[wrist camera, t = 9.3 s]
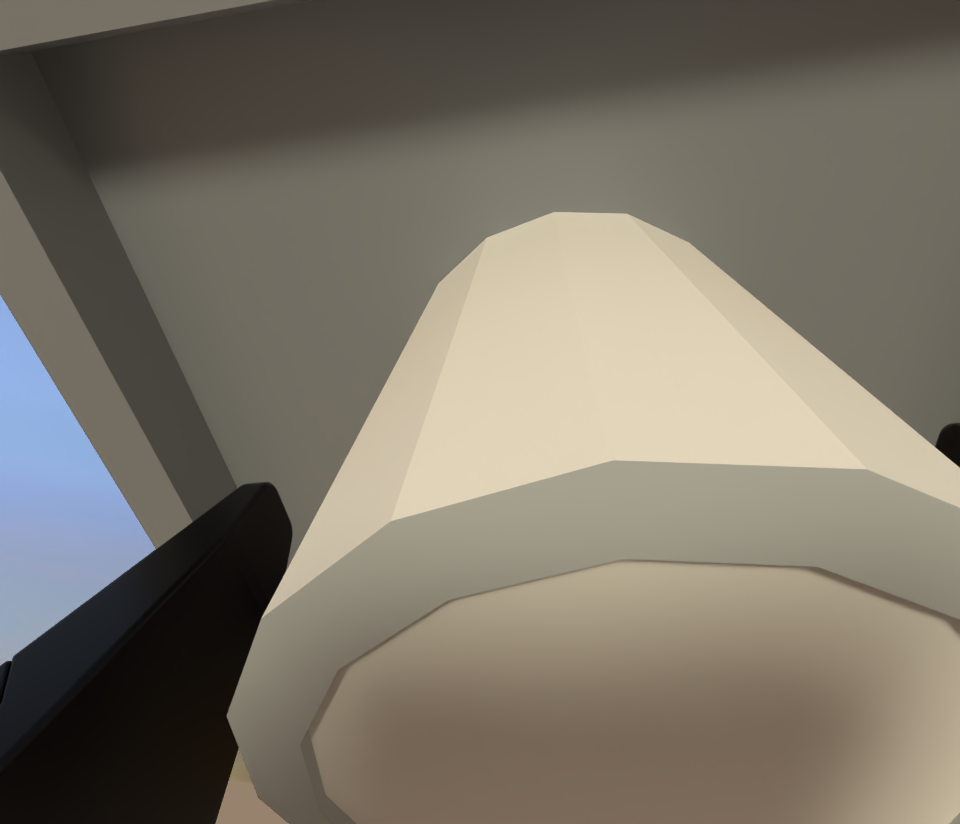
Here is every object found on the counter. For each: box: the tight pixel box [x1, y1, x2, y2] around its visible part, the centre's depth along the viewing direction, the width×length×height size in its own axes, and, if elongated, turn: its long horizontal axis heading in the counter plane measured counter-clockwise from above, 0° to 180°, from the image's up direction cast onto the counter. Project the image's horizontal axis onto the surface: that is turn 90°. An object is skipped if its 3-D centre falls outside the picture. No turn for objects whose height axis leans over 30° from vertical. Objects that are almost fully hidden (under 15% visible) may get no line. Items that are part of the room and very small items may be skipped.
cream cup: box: [227, 212, 960, 824], centre depth 8 cm, size 7×7×7 cm
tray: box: [0, 0, 960, 571], centre depth 10 cm, size 16×14×2 cm
